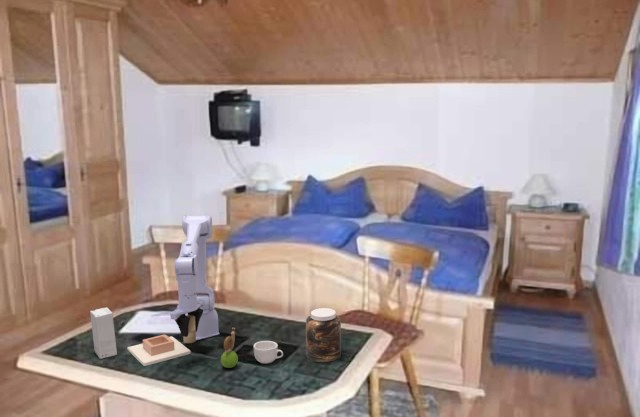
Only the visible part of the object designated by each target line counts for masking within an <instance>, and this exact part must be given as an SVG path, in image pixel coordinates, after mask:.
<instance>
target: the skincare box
mask: <svg viewBox="0 0 640 417" xmlns="http://www.w3.org/2000/svg"><path fill="white" fill-rule="evenodd" d="M89 312H90V320H91V330H92V331H91V332H92V339H93V348H94V349H93V350H94V353H95V354H96V356H98V358H99V359H100V360H101V359H104V358H109V357H115V356H117V355H118V353H117V341H116V334H115V333H116V332H115V325H114V324H115V323H114V314H113V313H114V312H112V311H111V310H110V309H109V307H101V308H97V309H94V310H90V311H89Z"/></svg>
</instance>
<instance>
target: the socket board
mask: <svg viewBox="0 0 640 417" xmlns="http://www.w3.org/2000/svg"><path fill="white" fill-rule="evenodd" d="M127 351H128V353H130V354H131V356H133V357H134V358H135V359H136V360H137V361H138V362H139V363H140V364H141V365H142V366H143V367H146V366H151V365H155V364H157V363H158V364H159V363H161V362H165V361H168V360H169V361H170V360H171V359H172V360H173V359H177V358H179V357H184V356H187V355H191V353H192V351H191V350H190V349H189V348H187V347H186V346H185V345H184V344H182V343H181V342H180V341H179V340H178V339H176V338H175V337H173V336H172V335H171V336H168V335H167V334H160V335H157V336H153V337H148V338H144V339H142V343H139V344H136V345H132V346H127Z"/></svg>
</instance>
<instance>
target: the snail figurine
mask: <svg viewBox="0 0 640 417" xmlns="http://www.w3.org/2000/svg"><path fill="white" fill-rule="evenodd" d="M231 330H232V331H231V332H230V335H229V336H226V337H225V338H224V341H223V349H224V352H223V353H222V354H221V356H220V363H221V365H222V366H223V367H224V368H226V369H232V368H234V367H236V365H237V364H238V360H239V357H238V354H237V353H236V352H235V351H234V350H233V349H234V346H235V340H236V336H235V335H236V331H235V330H236V328H235V327H231Z"/></svg>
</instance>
